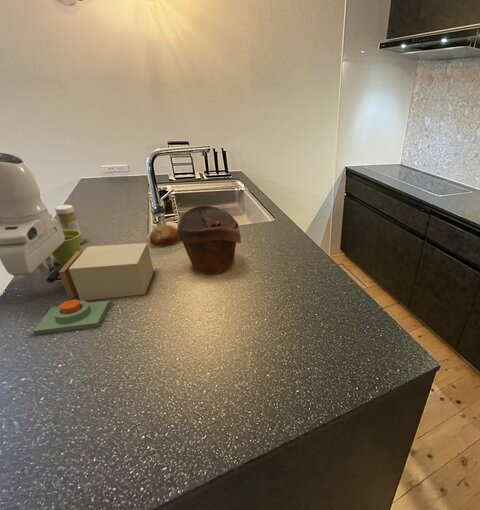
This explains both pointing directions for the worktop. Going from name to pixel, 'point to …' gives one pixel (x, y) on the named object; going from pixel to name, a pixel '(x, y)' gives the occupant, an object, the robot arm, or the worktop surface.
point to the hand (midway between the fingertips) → (48, 272)
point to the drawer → (65, 275)
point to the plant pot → (67, 247)
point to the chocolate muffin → (209, 238)
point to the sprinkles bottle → (68, 219)
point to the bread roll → (164, 236)
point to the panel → (72, 318)
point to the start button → (70, 306)
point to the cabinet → (112, 271)
